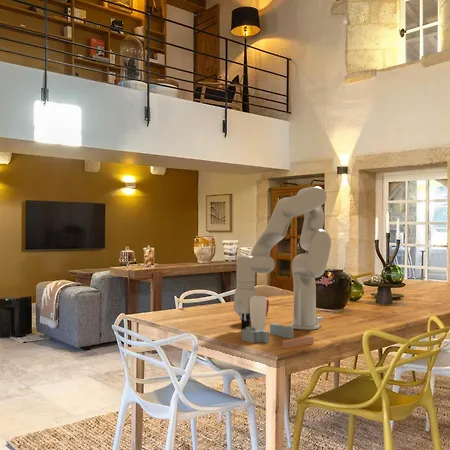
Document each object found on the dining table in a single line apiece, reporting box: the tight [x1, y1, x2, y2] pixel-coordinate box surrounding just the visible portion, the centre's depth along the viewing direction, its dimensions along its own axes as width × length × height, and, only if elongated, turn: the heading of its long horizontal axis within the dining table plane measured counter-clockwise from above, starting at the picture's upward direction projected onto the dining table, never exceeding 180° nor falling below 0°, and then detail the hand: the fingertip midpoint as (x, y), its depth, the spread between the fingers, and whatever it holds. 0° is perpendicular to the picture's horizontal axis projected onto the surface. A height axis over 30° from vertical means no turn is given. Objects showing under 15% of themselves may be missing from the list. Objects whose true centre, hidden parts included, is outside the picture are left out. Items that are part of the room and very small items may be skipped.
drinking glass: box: [250, 295, 267, 331], centre depth 206 cm, size 7×7×15 cm
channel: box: [241, 322, 315, 349], centre depth 195 cm, size 18×23×4 cm
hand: (245, 329), depth 212 cm, fingers closed
